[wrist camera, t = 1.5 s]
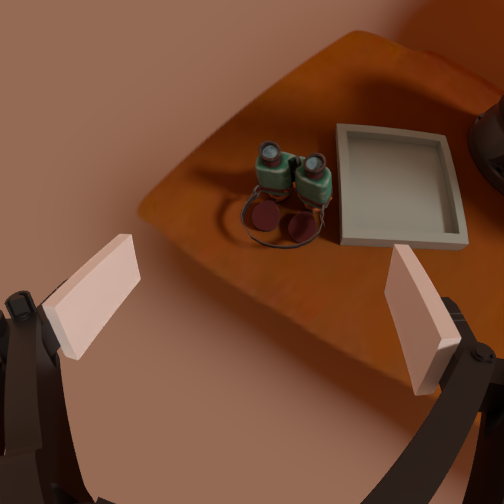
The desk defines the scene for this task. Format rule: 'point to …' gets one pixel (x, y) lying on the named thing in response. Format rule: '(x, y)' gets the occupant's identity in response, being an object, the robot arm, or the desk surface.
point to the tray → (398, 189)
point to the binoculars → (281, 185)
